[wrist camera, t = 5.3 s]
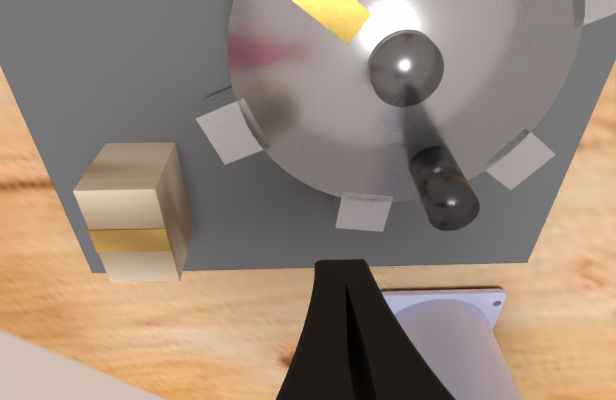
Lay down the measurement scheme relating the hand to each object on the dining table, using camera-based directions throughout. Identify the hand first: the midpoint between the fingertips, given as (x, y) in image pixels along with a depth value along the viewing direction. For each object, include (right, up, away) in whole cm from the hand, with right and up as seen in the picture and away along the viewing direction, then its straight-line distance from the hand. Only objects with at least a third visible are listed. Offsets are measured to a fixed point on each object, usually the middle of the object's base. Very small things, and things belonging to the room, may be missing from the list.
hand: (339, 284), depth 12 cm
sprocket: (+2, +8, +4) cm, 9 cm away
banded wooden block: (-8, +3, +8) cm, 12 cm away
